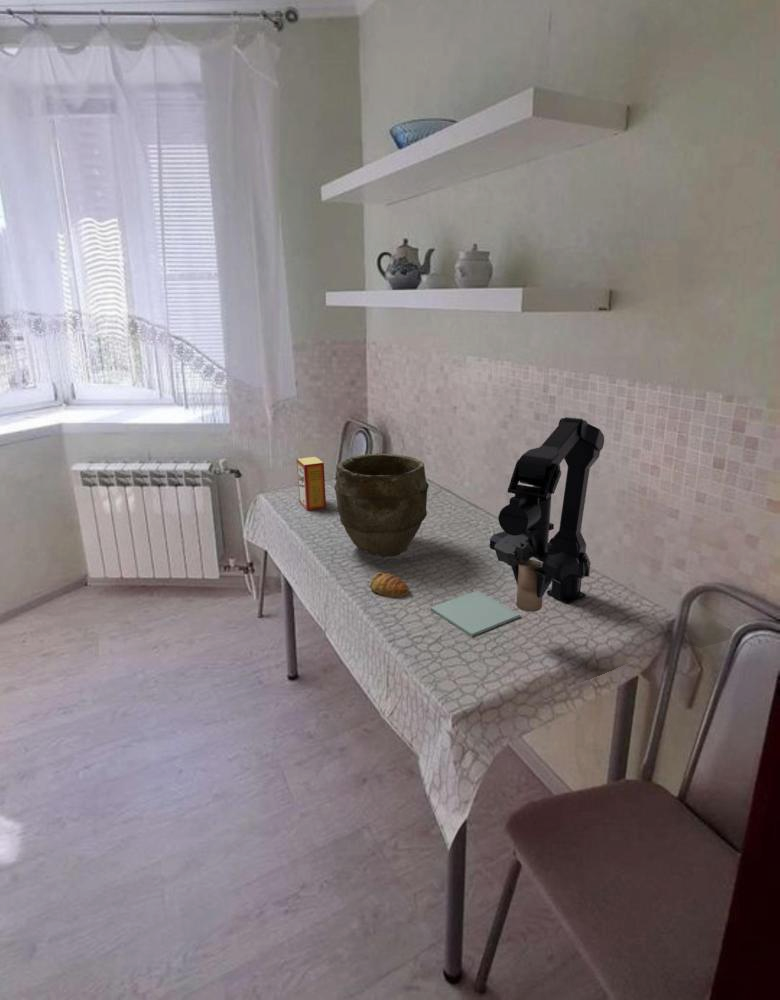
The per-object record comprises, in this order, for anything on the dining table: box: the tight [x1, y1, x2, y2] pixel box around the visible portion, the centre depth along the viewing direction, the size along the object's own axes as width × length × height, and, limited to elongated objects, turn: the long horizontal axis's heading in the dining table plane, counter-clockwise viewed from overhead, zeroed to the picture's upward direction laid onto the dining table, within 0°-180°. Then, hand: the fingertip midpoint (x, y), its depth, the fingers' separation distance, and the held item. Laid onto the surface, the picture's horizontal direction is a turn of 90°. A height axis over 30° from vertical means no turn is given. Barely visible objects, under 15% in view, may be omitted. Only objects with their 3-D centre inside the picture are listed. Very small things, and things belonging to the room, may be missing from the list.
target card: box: [429, 590, 521, 637], centre depth 137 cm, size 14×14×1 cm
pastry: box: [369, 572, 410, 598], centre depth 147 cm, size 9×7×4 cm
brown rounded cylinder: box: [516, 559, 543, 613], centre depth 123 cm, size 5×5×9 cm
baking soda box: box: [296, 456, 327, 512], centre depth 206 cm, size 10×6×16 cm
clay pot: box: [333, 452, 430, 558], centre depth 169 cm, size 25×25×25 cm
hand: (529, 592), depth 123 cm, fingers closed on brown rounded cylinder, 5 cm apart
